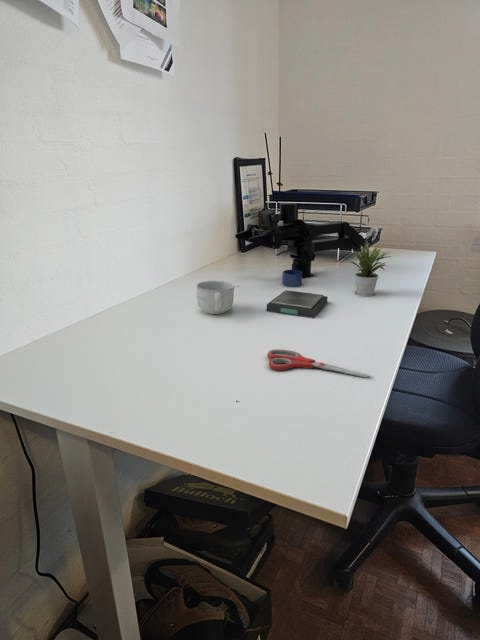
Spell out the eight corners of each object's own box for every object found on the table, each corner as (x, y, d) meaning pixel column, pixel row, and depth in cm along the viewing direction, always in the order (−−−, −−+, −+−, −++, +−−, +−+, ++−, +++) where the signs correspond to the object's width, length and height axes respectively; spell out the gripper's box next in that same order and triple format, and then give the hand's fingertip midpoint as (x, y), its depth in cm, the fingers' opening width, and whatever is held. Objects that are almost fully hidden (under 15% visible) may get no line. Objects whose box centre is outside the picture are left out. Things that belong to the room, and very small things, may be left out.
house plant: (381, 304, 119) (388, 250, 113) (336, 297, 126) (340, 245, 120) (393, 292, 130) (399, 241, 124) (351, 286, 137) (355, 238, 131)
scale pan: (286, 291, 125) (286, 290, 125) (323, 296, 120) (323, 294, 120) (271, 303, 115) (271, 301, 115) (311, 309, 110) (311, 307, 110)
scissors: (369, 378, 78) (369, 372, 78) (263, 369, 83) (263, 363, 82) (365, 361, 85) (366, 354, 85) (268, 353, 90) (268, 347, 89)
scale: (283, 297, 127) (284, 291, 127) (327, 302, 121) (327, 296, 121) (266, 311, 115) (266, 304, 115) (313, 318, 109) (313, 311, 109)
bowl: (294, 280, 145) (294, 268, 143) (305, 285, 139) (306, 272, 137) (278, 283, 142) (278, 271, 140) (289, 288, 136) (289, 275, 134)
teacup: (200, 304, 122) (198, 279, 119) (235, 304, 121) (235, 278, 119) (193, 321, 109) (192, 293, 106) (233, 321, 108) (232, 293, 106)
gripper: (266, 208, 146) (228, 210, 139) (297, 212, 130) (255, 216, 124) (266, 238, 150) (229, 243, 143) (296, 246, 134) (255, 252, 128)
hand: (241, 238), depth 134 cm, fingers open, 9 cm apart
